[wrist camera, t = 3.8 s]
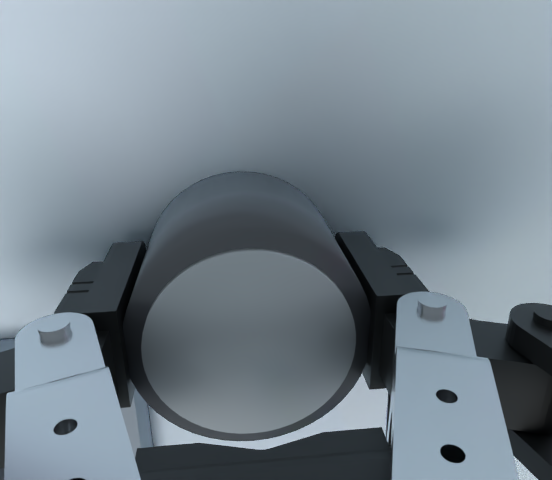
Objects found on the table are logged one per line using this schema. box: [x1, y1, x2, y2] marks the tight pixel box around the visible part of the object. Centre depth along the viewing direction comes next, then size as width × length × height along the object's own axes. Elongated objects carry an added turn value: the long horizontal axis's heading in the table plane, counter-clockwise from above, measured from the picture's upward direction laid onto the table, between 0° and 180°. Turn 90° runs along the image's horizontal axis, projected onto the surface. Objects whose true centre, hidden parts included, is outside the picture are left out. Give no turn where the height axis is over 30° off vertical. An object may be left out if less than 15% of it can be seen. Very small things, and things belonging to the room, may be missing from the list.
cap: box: [122, 172, 371, 441], centre depth 12 cm, size 5×5×4 cm
